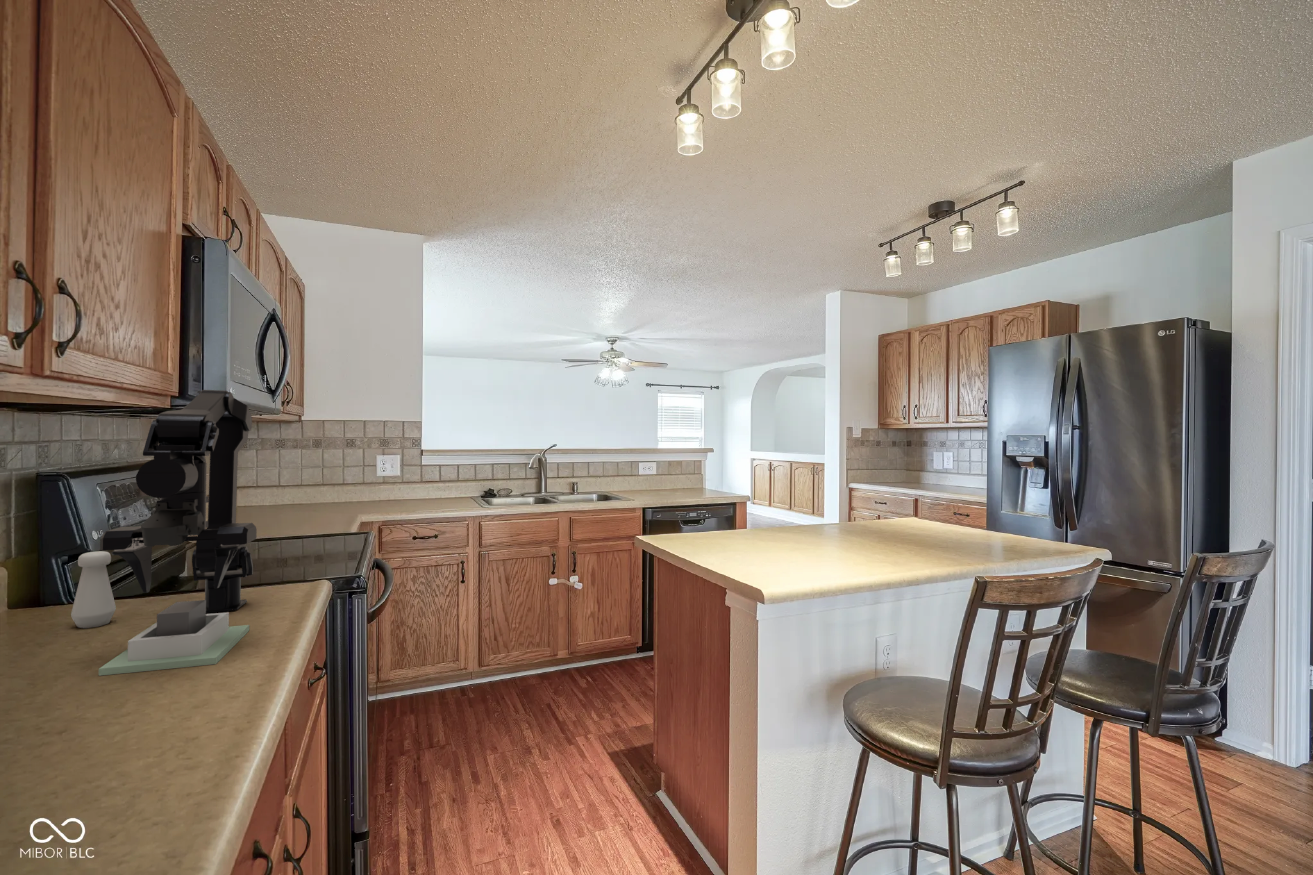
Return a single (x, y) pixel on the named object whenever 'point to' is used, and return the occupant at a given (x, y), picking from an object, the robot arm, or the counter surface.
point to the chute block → (182, 618)
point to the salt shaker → (93, 591)
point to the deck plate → (177, 647)
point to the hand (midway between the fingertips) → (182, 590)
